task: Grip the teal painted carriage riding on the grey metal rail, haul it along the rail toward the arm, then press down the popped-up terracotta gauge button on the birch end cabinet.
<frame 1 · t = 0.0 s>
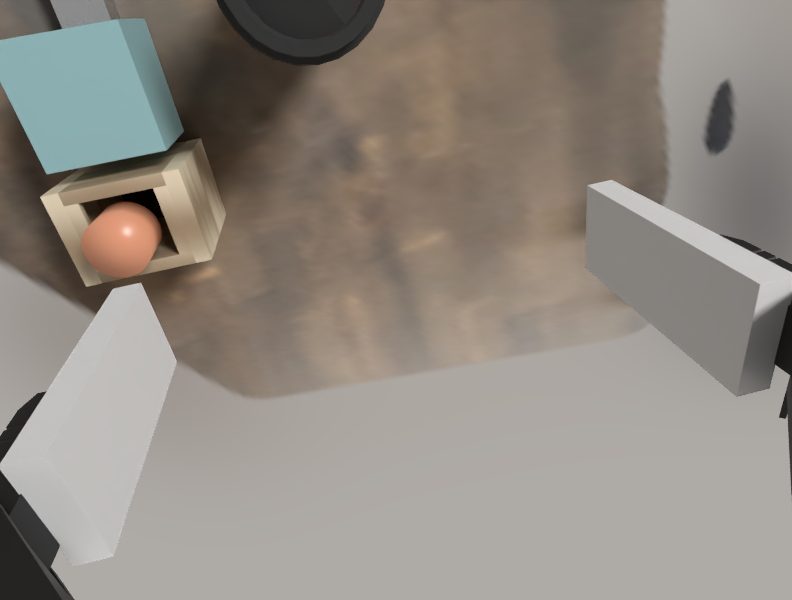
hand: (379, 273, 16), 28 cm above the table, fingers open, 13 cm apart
carriage: (101, 91, 33), point 4 cm above the table, slide at 0.0 cm
gauge button: (123, 239, 31), point 11 cm above the table, slide at 0.0 cm
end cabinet: (161, 188, 40), on the table
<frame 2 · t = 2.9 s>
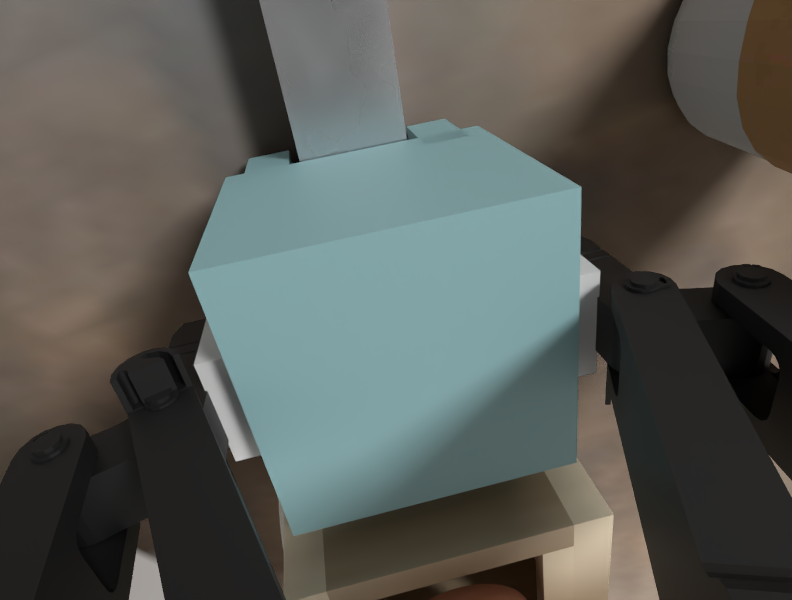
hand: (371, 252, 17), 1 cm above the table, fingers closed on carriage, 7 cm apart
rail: (320, 6, 14), on the table
carriage: (388, 298, 14), point 4 cm above the table, slide at 0.0 cm, touching gripper
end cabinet: (401, 406, 22), on the table
coffee cup: (746, 35, 17), on the table
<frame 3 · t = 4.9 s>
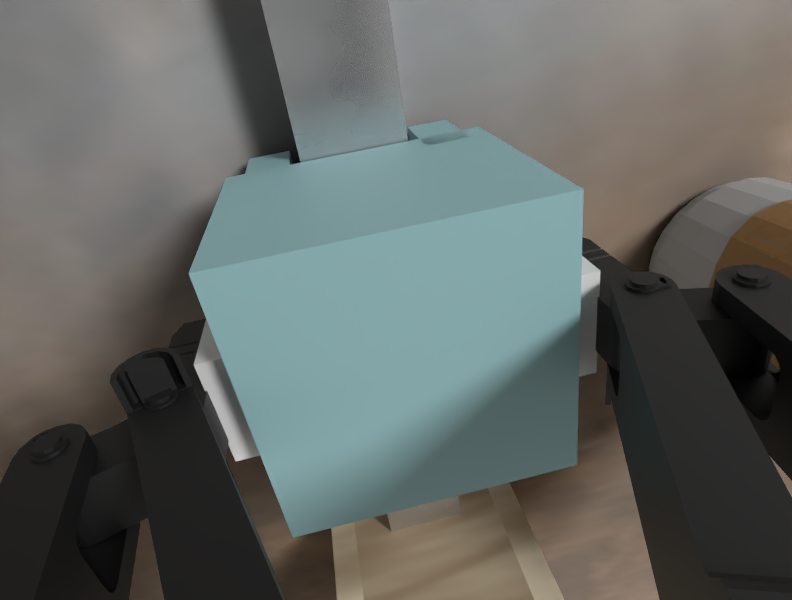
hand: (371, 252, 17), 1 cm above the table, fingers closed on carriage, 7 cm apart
rail: (371, 258, 18), on the table
carriage: (388, 299, 14), point 4 cm above the table, slide at 7.7 cm, touching gripper
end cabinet: (424, 528, 25), on the table
coffee cup: (714, 251, 21), on the table
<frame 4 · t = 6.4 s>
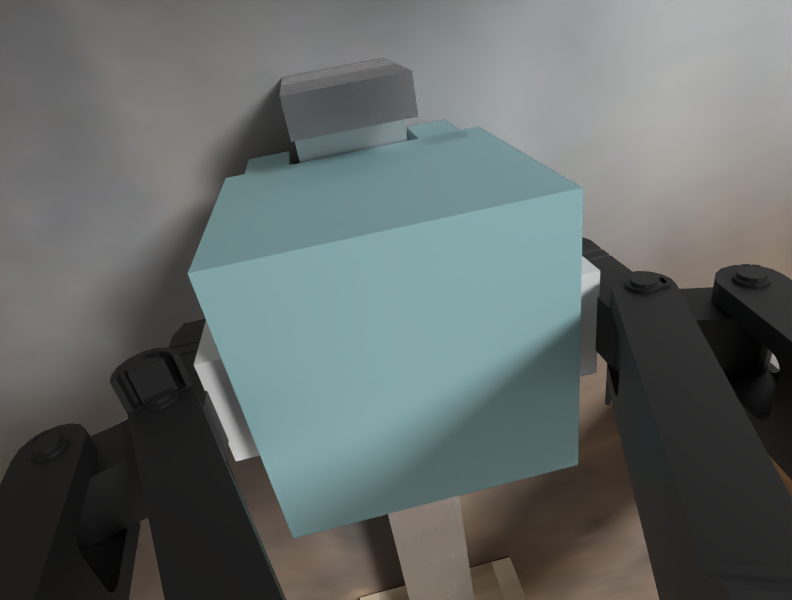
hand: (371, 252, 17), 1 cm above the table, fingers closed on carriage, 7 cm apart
rail: (401, 409, 22), on the table
carriage: (388, 299, 14), point 4 cm above the table, slide at 14.6 cm, touching gripper
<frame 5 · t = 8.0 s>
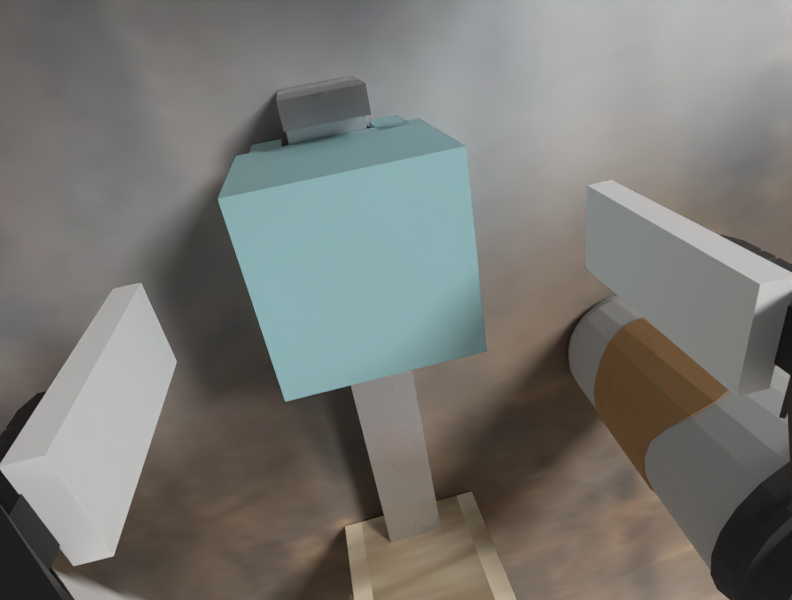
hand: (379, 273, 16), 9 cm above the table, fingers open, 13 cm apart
rail: (374, 353, 27), on the table
carriage: (353, 241, 20), point 4 cm above the table, slide at 14.8 cm
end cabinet: (416, 540, 34), on the table
coffee cup: (614, 338, 30), on the table
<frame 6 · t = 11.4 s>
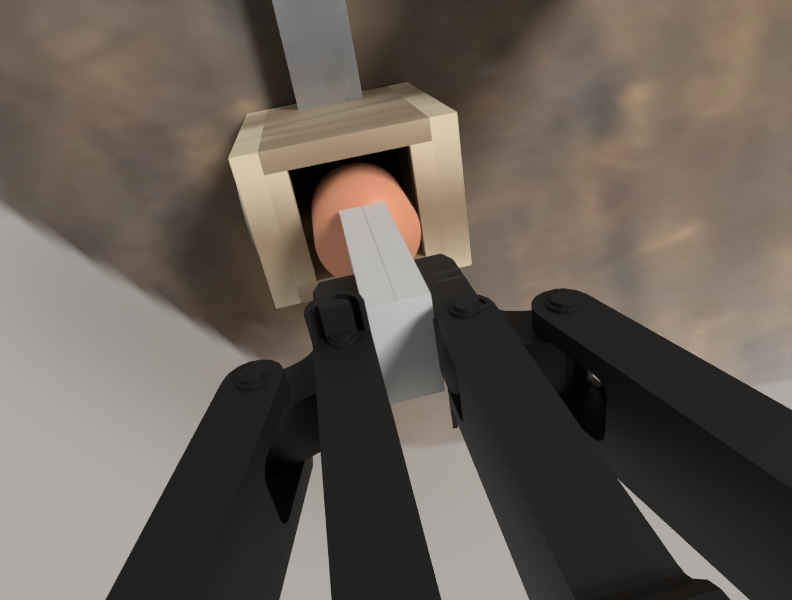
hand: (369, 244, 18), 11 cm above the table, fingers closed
gauge button: (363, 222, 19), point 10 cm above the table, slide at 0.9 cm, touching gripper
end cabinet: (340, 158, 27), on the table
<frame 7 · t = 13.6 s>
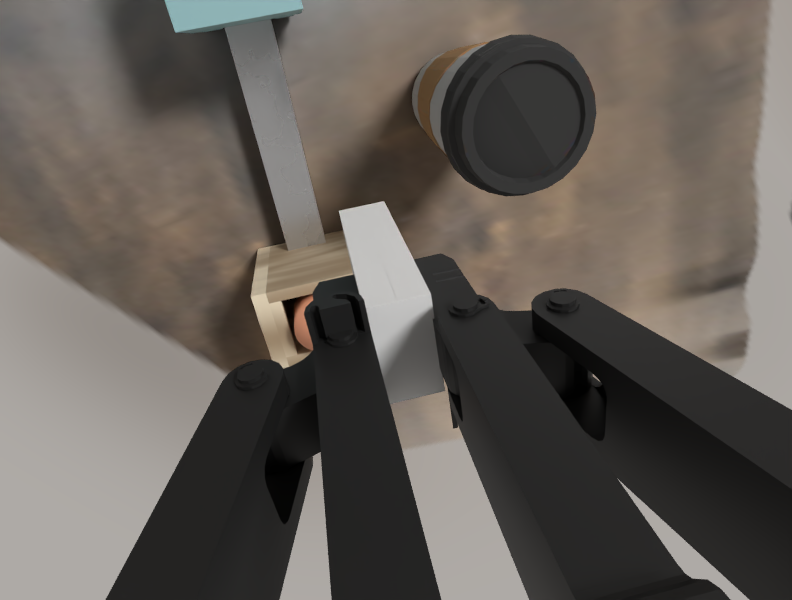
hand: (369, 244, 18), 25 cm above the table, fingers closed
rail: (267, 89, 38), on the table
gauge button: (320, 318, 37), point 9 cm above the table, slide at 2.0 cm
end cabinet: (315, 270, 45), on the table
coffee cup: (450, 96, 40), on the table
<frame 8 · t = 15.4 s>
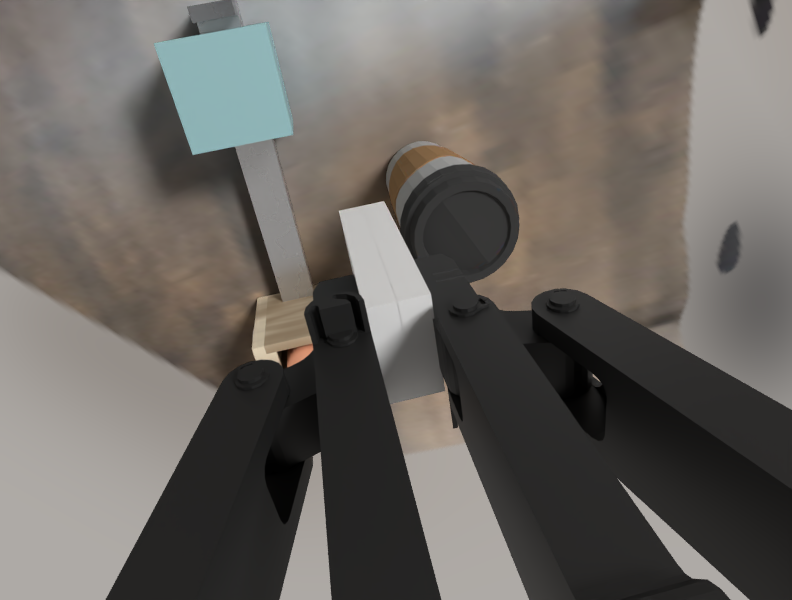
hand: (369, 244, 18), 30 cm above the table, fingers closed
rail: (265, 173, 46), on the table
carriage: (232, 85, 38), point 4 cm above the table, slide at 14.8 cm
gauge button: (308, 363, 45), point 9 cm above the table, slide at 2.0 cm
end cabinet: (305, 314, 53), on the table
coffee cup: (419, 174, 48), on the table
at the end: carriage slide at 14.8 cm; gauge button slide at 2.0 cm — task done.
